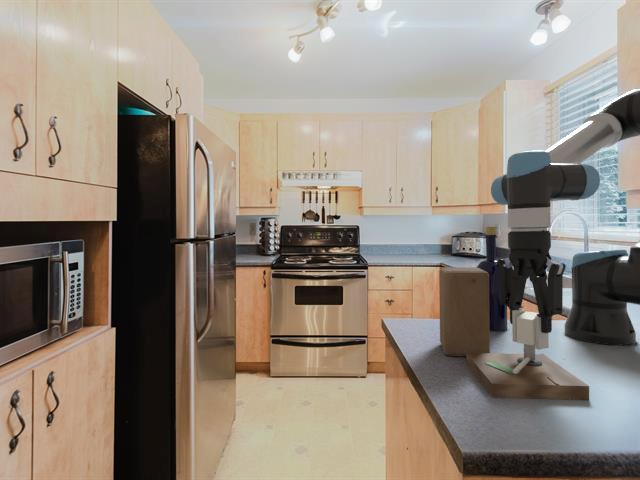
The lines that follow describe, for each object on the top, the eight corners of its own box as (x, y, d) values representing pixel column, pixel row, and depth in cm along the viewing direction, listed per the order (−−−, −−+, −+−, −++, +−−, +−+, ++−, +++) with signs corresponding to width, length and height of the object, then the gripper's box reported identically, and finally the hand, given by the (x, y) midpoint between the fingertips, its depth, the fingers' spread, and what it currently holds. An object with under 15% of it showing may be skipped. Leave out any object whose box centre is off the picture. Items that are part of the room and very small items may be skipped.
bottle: (515, 331, 104) (514, 226, 103) (482, 332, 104) (481, 227, 104) (499, 323, 114) (499, 226, 113) (469, 323, 114) (469, 227, 113)
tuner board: (543, 365, 79) (543, 352, 79) (589, 399, 63) (589, 384, 63) (466, 363, 81) (466, 351, 81) (492, 396, 65) (491, 381, 65)
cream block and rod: (541, 355, 76) (541, 313, 76) (523, 375, 66) (522, 326, 66) (526, 352, 78) (526, 311, 78) (506, 371, 68) (506, 324, 68)
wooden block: (490, 359, 83) (490, 271, 83) (444, 356, 85) (443, 271, 85) (480, 345, 93) (480, 266, 93) (439, 343, 95) (438, 266, 95)
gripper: (586, 229, 67) (587, 354, 68) (505, 229, 83) (507, 330, 84) (558, 230, 64) (559, 361, 65) (480, 230, 81) (482, 335, 81)
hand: (530, 344), depth 75 cm, fingers closed on cream block and rod, 4 cm apart
